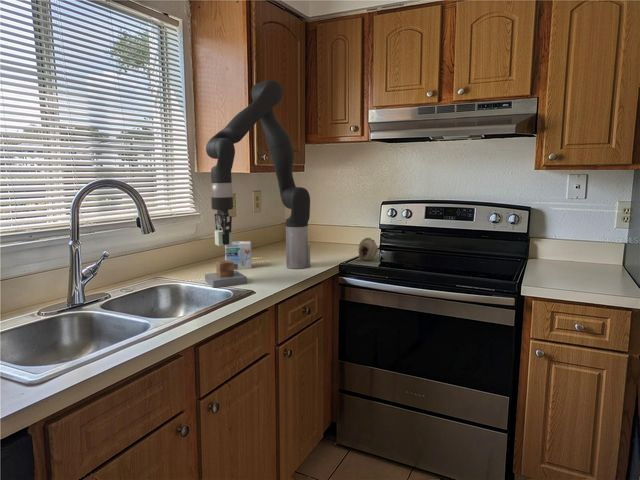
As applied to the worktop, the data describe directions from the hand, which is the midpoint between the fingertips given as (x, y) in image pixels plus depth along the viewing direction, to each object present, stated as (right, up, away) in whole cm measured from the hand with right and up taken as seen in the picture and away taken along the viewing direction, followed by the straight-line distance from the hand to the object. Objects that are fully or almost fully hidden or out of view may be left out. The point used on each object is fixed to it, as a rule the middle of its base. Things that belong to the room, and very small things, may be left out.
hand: (223, 243), depth 162 cm
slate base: (0, -14, +2) cm, 14 cm away
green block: (0, -1, 0) cm, 0 cm away
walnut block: (0, -12, +2) cm, 12 cm away
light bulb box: (0, -11, +27) cm, 29 cm away
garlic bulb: (+56, -8, +41) cm, 70 cm away
